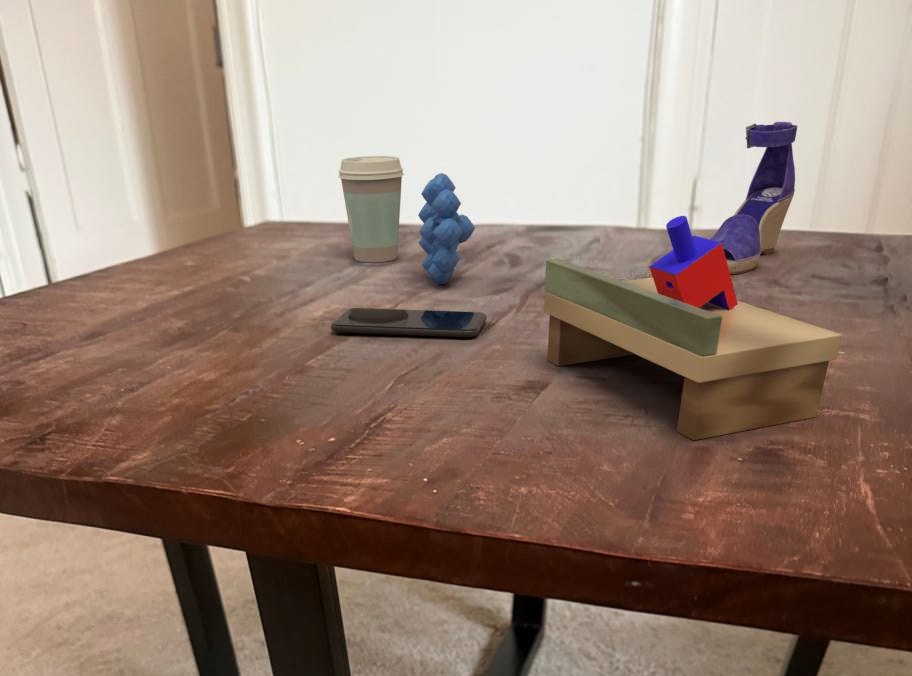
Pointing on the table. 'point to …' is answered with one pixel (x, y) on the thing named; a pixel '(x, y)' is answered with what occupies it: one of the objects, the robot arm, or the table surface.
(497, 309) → the table surface
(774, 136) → the sandal
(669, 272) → the toy building block
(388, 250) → the coffee cup
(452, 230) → the grapes
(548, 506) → the table surface
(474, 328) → the smartphone
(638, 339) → the shoe shelf
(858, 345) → the table surface
